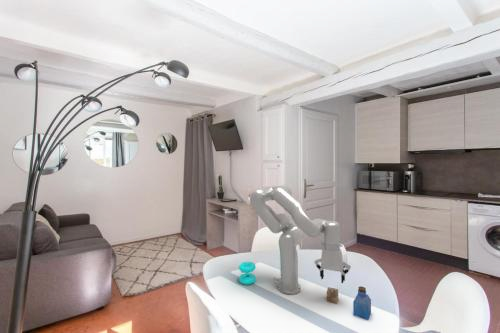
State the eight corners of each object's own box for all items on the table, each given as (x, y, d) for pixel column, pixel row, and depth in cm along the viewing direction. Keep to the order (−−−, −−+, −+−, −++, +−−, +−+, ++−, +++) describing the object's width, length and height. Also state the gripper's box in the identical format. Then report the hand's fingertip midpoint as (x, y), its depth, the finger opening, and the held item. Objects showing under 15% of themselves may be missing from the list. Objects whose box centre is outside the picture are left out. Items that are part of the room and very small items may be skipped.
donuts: (240, 260, 151) (256, 261, 149) (241, 276, 151) (257, 277, 149) (236, 267, 141) (253, 268, 139) (237, 284, 141) (254, 286, 139)
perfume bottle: (356, 308, 117) (356, 283, 117) (371, 313, 113) (370, 287, 113) (353, 315, 112) (353, 289, 112) (368, 320, 108) (368, 293, 108)
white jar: (322, 264, 165) (322, 245, 165) (332, 259, 174) (332, 240, 174) (341, 271, 156) (341, 250, 155) (351, 264, 165) (350, 244, 164)
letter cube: (326, 301, 123) (326, 291, 123) (328, 296, 127) (327, 286, 127) (337, 304, 121) (337, 293, 121) (338, 298, 125) (338, 288, 125)
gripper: (312, 246, 124) (313, 279, 124) (349, 251, 116) (350, 287, 117) (315, 241, 131) (316, 273, 131) (351, 246, 123) (351, 280, 123)
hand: (332, 279), depth 124 cm, fingers open, 9 cm apart
